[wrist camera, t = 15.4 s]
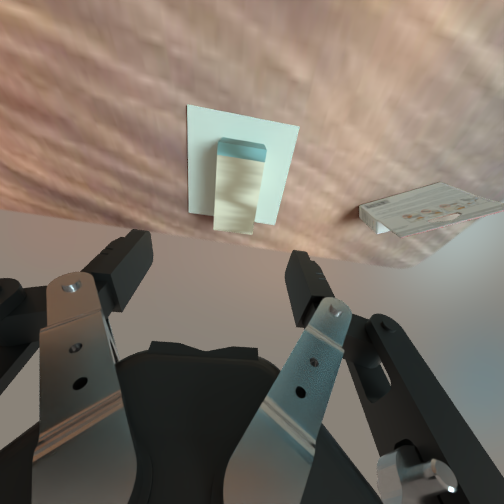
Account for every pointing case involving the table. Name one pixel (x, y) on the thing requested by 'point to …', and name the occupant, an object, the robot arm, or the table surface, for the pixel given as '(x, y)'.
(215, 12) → the table surface
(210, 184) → the mat
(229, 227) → the ash block
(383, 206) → the ink cartridge box
